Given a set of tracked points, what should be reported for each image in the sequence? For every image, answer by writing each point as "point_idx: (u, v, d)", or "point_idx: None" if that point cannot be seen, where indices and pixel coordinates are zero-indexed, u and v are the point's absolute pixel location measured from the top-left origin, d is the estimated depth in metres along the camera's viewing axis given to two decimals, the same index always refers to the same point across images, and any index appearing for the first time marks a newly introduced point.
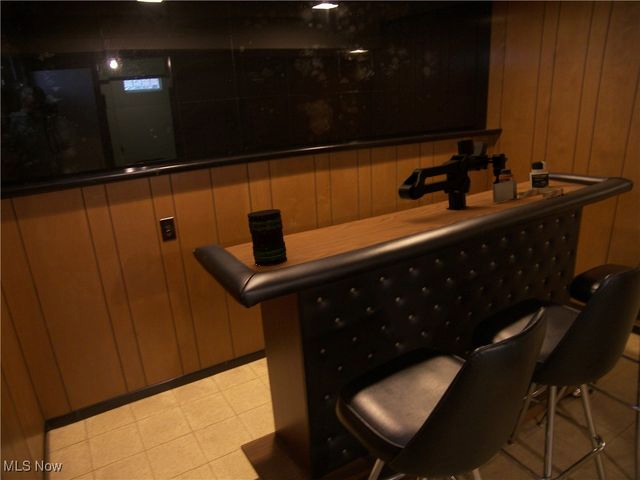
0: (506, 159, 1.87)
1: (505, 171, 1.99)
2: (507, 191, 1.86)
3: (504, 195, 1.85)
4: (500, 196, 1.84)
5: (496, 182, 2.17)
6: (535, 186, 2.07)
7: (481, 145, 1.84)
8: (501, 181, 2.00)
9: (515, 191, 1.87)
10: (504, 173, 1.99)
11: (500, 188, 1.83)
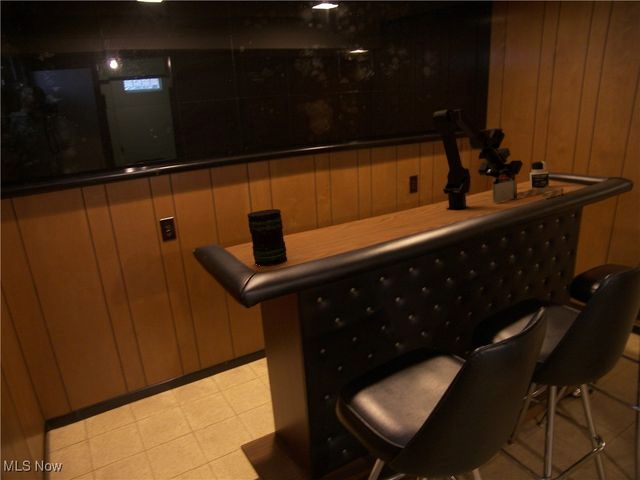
0: (514, 177, 1.98)
1: (505, 171, 1.99)
2: (507, 191, 1.86)
3: (504, 195, 1.85)
4: (500, 196, 1.84)
5: (496, 182, 2.17)
6: (535, 186, 2.07)
7: (506, 149, 1.96)
8: (501, 181, 2.00)
9: (515, 191, 1.87)
10: (504, 173, 1.99)
11: (500, 188, 1.83)
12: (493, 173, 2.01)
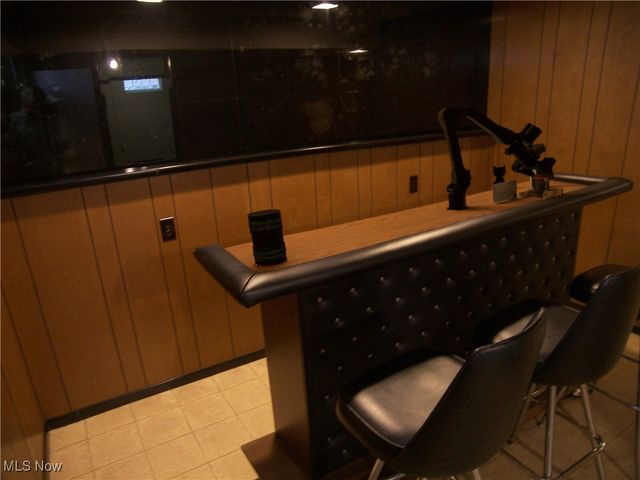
0: (552, 176, 1.81)
1: (539, 171, 1.84)
2: (507, 191, 1.86)
3: (504, 195, 1.85)
4: (500, 196, 1.84)
5: (496, 182, 2.17)
6: None
7: (541, 145, 1.81)
8: (534, 181, 1.86)
9: (515, 191, 1.87)
10: (538, 173, 1.85)
11: (500, 188, 1.83)
12: (524, 170, 1.89)
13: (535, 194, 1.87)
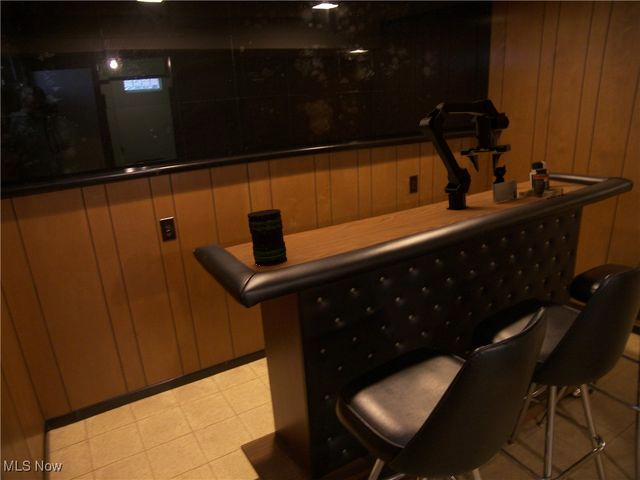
0: (495, 167, 1.83)
1: (539, 171, 1.84)
2: (507, 191, 1.86)
3: (504, 195, 1.85)
4: (500, 196, 1.84)
5: (496, 182, 2.17)
6: None
7: None
8: (534, 181, 1.86)
9: (515, 191, 1.87)
10: (538, 173, 1.85)
11: (500, 188, 1.83)
12: (474, 157, 1.86)
13: (535, 194, 1.87)
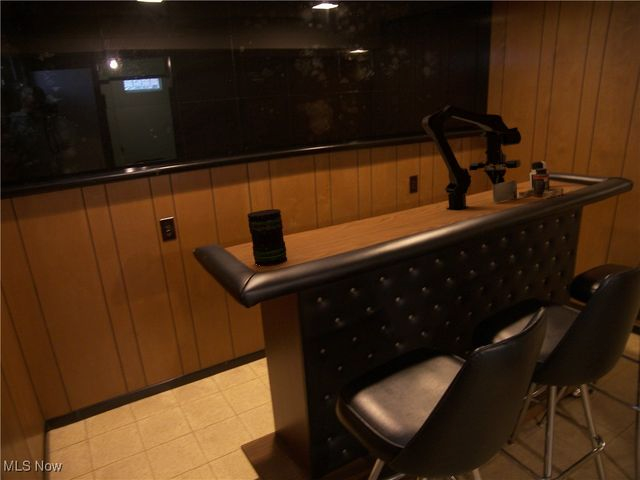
0: (496, 183, 1.84)
1: (539, 171, 1.84)
2: (507, 191, 1.86)
3: (504, 195, 1.85)
4: (500, 196, 1.84)
5: None
6: None
7: None
8: (534, 181, 1.86)
9: (515, 191, 1.87)
10: (538, 173, 1.85)
11: (500, 188, 1.83)
12: (492, 171, 1.83)
13: (535, 194, 1.87)
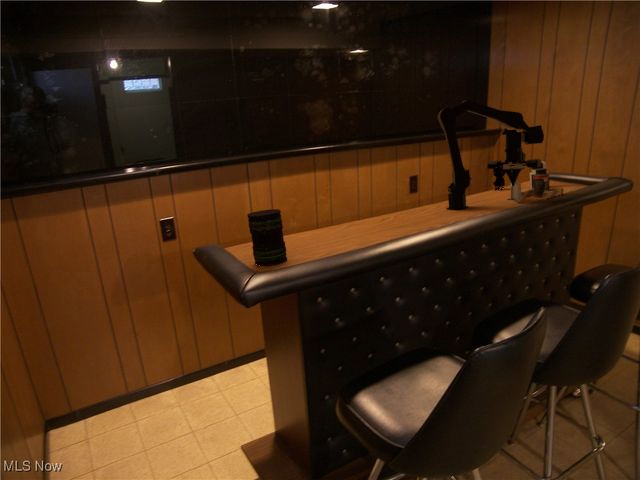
0: None
1: (539, 171, 1.84)
2: None
3: None
4: None
5: (496, 182, 2.17)
6: None
7: None
8: (534, 181, 1.86)
9: None
10: (538, 173, 1.85)
11: None
12: (511, 170, 1.77)
13: (535, 194, 1.87)
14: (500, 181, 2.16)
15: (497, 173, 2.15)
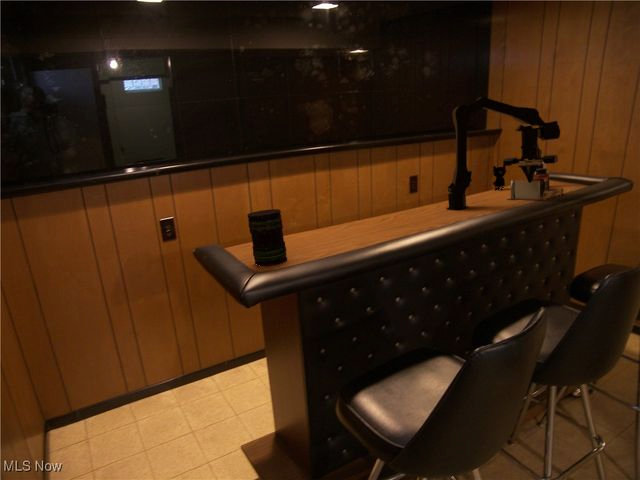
0: (532, 179, 1.78)
1: (539, 171, 1.84)
2: None
3: None
4: None
5: (496, 182, 2.17)
6: None
7: None
8: None
9: None
10: (538, 173, 1.85)
11: None
12: (527, 167, 1.77)
13: None
14: (500, 181, 2.16)
15: (497, 173, 2.15)
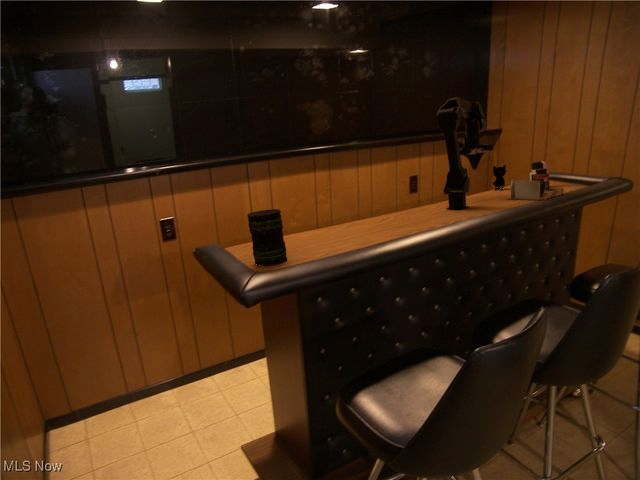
0: None
1: (539, 171, 1.84)
2: None
3: None
4: None
5: (496, 182, 2.17)
6: None
7: None
8: None
9: None
10: (538, 173, 1.85)
11: None
12: None
13: None
14: (500, 181, 2.16)
15: (497, 173, 2.15)
